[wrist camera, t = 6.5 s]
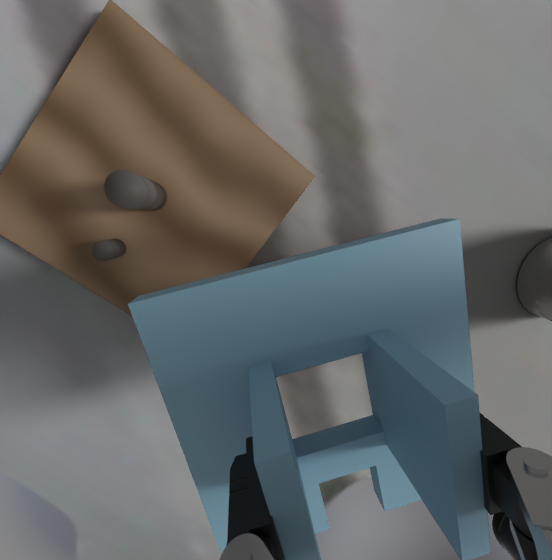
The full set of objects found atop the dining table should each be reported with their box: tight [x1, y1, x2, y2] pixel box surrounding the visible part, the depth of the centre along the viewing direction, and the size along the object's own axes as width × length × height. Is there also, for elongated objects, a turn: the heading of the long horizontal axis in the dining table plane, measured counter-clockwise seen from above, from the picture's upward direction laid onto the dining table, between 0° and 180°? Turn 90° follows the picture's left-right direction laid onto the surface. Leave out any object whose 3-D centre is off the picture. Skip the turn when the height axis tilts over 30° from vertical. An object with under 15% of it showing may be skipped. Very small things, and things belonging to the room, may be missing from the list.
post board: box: [0, 0, 315, 316], centre depth 22 cm, size 20×20×8 cm
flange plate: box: [128, 219, 491, 560], centre depth 12 cm, size 14×14×6 cm
